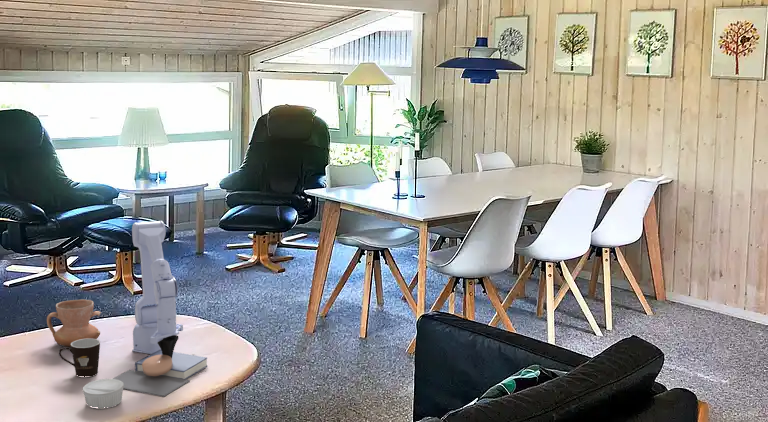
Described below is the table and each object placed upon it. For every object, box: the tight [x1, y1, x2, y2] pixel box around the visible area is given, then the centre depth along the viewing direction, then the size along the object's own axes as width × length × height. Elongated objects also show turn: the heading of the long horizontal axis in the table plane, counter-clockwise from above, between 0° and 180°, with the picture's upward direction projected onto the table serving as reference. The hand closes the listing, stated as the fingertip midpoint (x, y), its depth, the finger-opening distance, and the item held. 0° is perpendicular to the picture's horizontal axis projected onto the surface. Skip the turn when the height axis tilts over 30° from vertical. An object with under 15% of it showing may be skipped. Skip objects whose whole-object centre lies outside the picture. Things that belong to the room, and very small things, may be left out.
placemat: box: [112, 369, 190, 397], centre depth 262 cm, size 22×13×1 cm, turn 69°
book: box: [134, 350, 208, 380], centre depth 274 cm, size 18×13×3 cm
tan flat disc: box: [142, 355, 173, 376], centre depth 267 cm, size 9×9×2 cm
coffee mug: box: [58, 338, 101, 377], centre depth 269 cm, size 12×9×10 cm
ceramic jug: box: [46, 299, 102, 348], centre depth 295 cm, size 18×14×14 cm
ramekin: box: [82, 378, 124, 408], centre depth 247 cm, size 11×11×5 cm
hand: (167, 358), depth 272 cm, fingers closed
